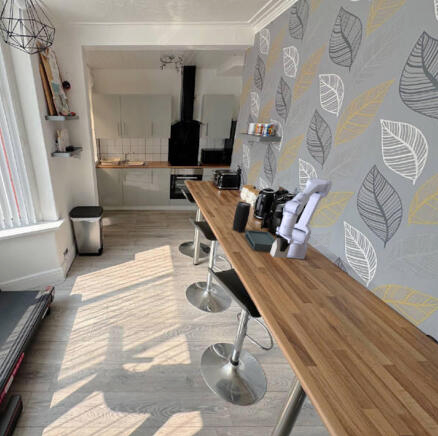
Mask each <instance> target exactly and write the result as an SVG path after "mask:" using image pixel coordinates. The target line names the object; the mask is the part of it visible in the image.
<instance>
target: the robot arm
mask: <svg viewBox="0 0 438 436" xmlns="http://www.w3.org/2000/svg"><path fill="white" fill-rule="evenodd" d="M332 186H333V182H332V181H331V180H326V179H322V178H317V177H316V178H315V177H311V176H310V177H309V178H308V179H307V181H306V183H305V188H304V190H303V191H302V192H299V193H297V194H296V195H295V196H294V197H293V198H292V199H291V200H287V201H286V202H285V204H284V205H283V209H282V210H283V211H282V219H281V223H280V226H277V227H276V232H274V235H275V240H276V239H277V238H280V242H281V244H280V252H285V250H286V249H287V248H288V246H289V245H290V249H289V252H288V255H287V258H288V259H300V260H306V258H305V256H306V254H307V251H308V247H309V245H308V242H309V240H310V237H311V234H312V231H311V229H310V228H309V224H310V222H311V221H312V219H313V216H314V214H315V212H316V210H317V207H318V206H319V204H320V202H321V200H322V199H323V198H327V196H328V195H329V193H330V191H331V189H332ZM304 207H305V208H304ZM301 213H302V214H301ZM300 214H301V215H300ZM299 215H300V218H299V220H298V217H299ZM297 220H298V222H297ZM282 238H284V239H282Z"/></svg>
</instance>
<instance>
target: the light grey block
mask: <svg viewBox="0 0 438 436" xmlns="http://www.w3.org/2000/svg"><path fill="white" fill-rule="evenodd" d="M282 239H284V238H282ZM280 244H281V242H280V238H277V239H276V238H275V242H274V243H273V245H272V249H271V252H269V254H270V255H271V257H273V258H281V259H282V258H284V259H285V258H288V257H287V255H288V252H289V249H290V245H289V246H288V248H287V249H286V250H285V252H280Z"/></svg>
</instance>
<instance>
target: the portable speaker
mask: <svg viewBox="0 0 438 436" xmlns="http://www.w3.org/2000/svg"><path fill="white" fill-rule="evenodd" d="M251 205H252V204H251V203H250V202H246V201H238V202H237V205H236V207H235V212H234V217H233V221H232V230H233V231H237V232H238V233H244V232H245V231H246V227H247V225H248V222H249V218H250V212H251Z"/></svg>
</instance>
